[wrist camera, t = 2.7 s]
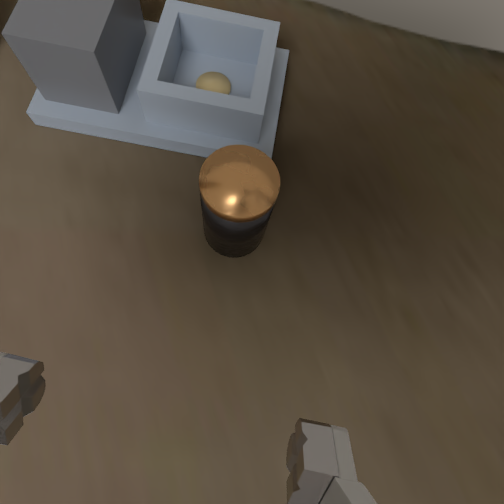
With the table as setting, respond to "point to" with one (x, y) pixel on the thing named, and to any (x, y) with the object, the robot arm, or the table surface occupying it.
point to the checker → (151, 73)
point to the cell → (237, 198)
